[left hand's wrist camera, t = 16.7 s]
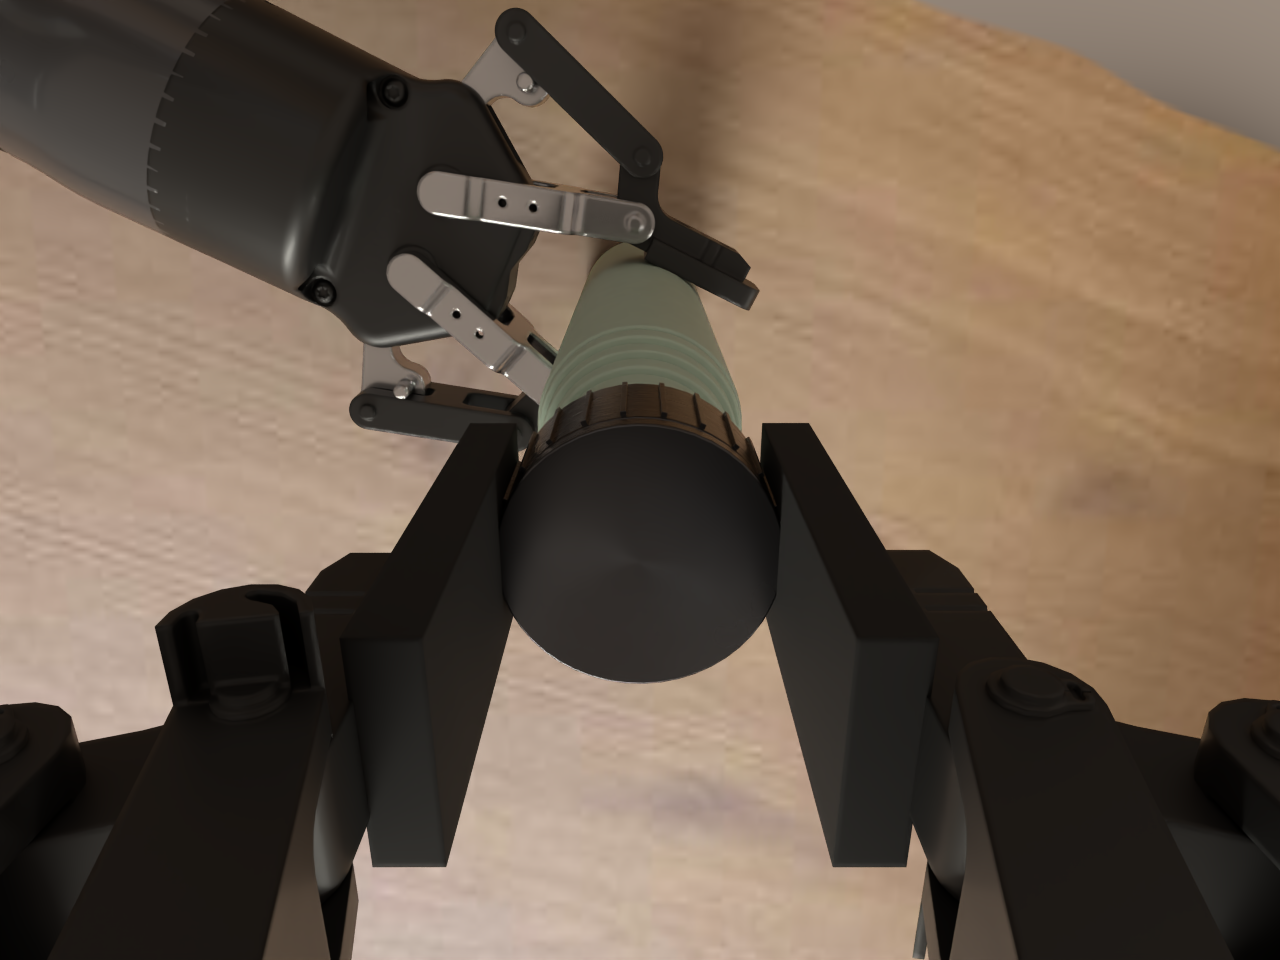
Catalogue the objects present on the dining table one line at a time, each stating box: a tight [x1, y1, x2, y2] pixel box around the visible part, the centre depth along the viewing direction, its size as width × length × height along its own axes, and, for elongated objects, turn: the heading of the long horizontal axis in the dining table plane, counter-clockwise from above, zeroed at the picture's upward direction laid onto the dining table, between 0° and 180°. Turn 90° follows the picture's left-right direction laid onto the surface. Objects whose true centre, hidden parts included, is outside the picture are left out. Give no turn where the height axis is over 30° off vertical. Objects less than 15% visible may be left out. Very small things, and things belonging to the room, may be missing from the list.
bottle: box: [538, 242, 742, 432], centre depth 23 cm, size 4×4×23 cm
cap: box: [499, 382, 781, 684], centre depth 13 cm, size 4×4×2 cm
